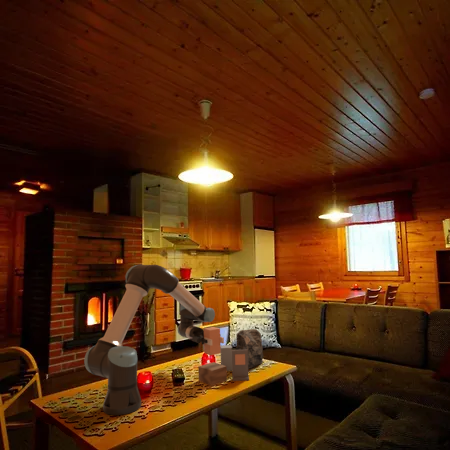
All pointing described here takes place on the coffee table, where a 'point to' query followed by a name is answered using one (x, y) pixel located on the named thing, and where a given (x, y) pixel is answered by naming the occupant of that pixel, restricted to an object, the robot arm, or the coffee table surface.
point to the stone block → (251, 345)
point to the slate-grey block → (226, 356)
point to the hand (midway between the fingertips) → (217, 341)
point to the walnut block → (212, 373)
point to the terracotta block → (215, 336)
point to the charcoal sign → (240, 365)
